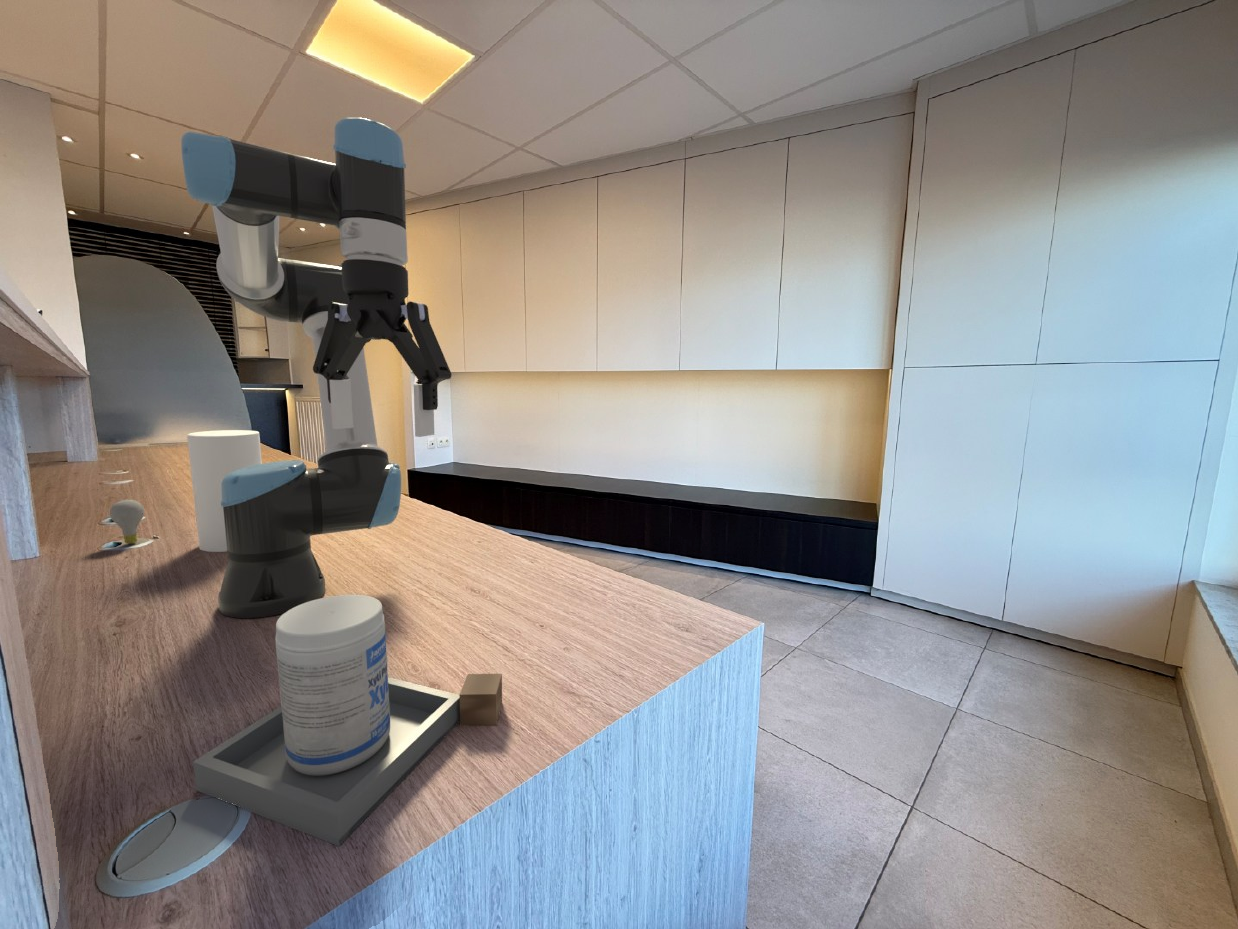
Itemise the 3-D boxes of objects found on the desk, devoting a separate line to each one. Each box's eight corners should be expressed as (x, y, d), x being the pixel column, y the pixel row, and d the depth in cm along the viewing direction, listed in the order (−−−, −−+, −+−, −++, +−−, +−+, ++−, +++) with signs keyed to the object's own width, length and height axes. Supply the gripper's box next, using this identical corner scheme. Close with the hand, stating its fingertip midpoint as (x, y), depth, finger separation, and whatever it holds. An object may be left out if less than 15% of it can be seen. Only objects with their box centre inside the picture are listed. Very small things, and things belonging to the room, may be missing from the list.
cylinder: (256, 549, 110) (245, 436, 106) (187, 553, 107) (174, 436, 103) (276, 533, 122) (267, 430, 118) (215, 536, 119) (204, 430, 115)
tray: (196, 790, 47) (192, 762, 47) (345, 688, 63) (344, 666, 63) (339, 846, 42) (337, 815, 42) (462, 719, 58) (461, 695, 58)
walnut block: (460, 727, 57) (459, 694, 56) (468, 704, 61) (467, 674, 60) (496, 726, 57) (495, 694, 57) (502, 704, 61) (501, 673, 60)
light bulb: (131, 548, 109) (125, 503, 108) (106, 547, 109) (100, 502, 108) (155, 540, 115) (149, 497, 113) (131, 539, 115) (125, 496, 113)
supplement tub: (398, 756, 51) (392, 620, 49) (286, 797, 46) (273, 647, 44) (382, 705, 59) (376, 585, 57) (285, 734, 54) (274, 604, 52)
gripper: (273, 259, 64) (286, 427, 68) (438, 252, 56) (442, 442, 60) (325, 271, 71) (334, 423, 75) (478, 266, 63) (479, 435, 67)
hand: (382, 432), depth 67 cm, fingers open, 13 cm apart
